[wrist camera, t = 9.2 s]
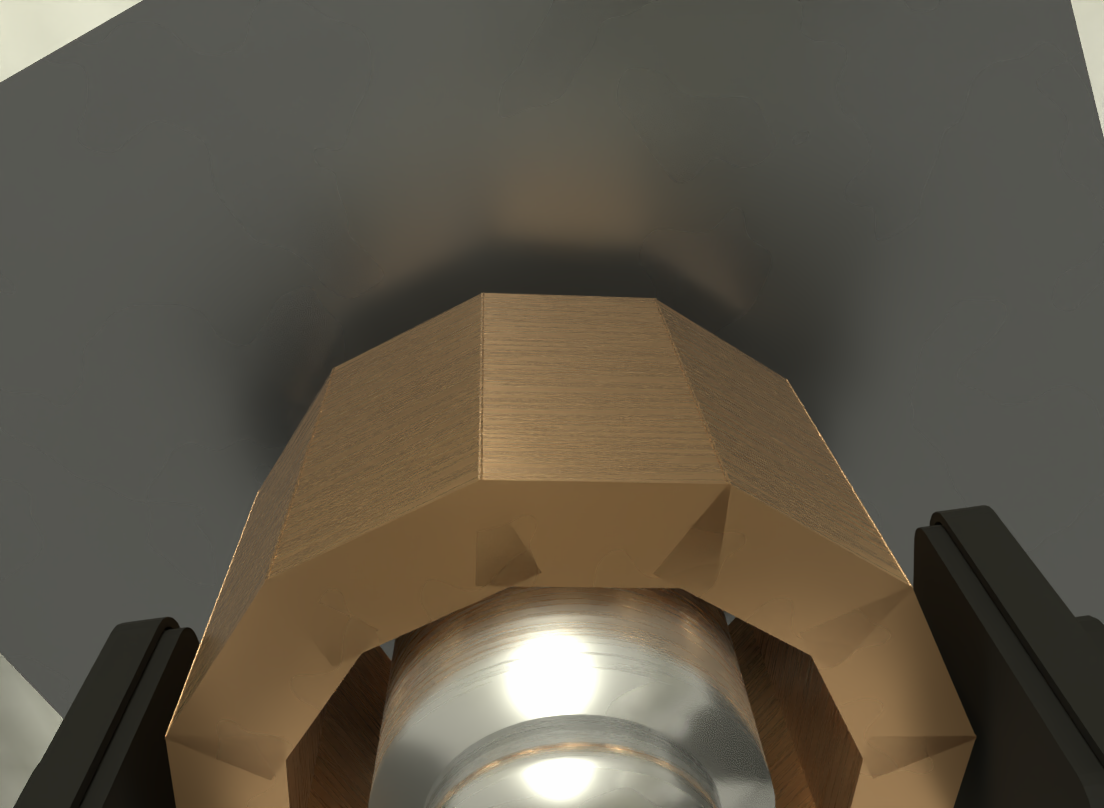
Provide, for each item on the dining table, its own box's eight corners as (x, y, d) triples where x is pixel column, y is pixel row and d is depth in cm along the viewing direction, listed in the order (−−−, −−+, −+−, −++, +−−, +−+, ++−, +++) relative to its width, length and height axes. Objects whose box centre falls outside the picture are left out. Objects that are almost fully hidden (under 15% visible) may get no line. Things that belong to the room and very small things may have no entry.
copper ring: (700, 182, 11) (803, 326, 7) (905, 645, 14) (1048, 904, 10) (142, 464, 12) (-4, 705, 9) (444, 833, 15) (431, 1125, 12)
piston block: (901, -424, 11) (1467, -881, 4) (1186, 648, 17) (1573, 1089, 11) (-266, 245, 13) (-964, 565, 7) (366, 946, 20) (297, 1435, 14)
